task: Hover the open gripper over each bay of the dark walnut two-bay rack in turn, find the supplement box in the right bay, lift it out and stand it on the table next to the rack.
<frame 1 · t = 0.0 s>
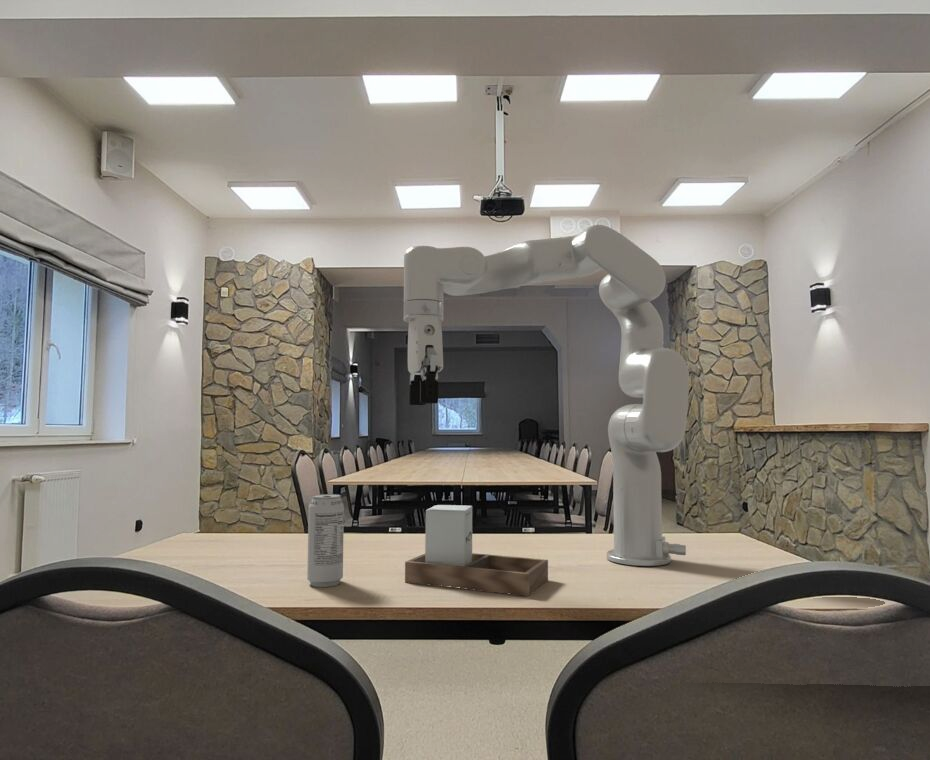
hand: (422, 404, 116), 31 cm above the table, tool pointing down, fingers open, 9 cm apart
energy drink can: (325, 584, 107), on the table
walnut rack: (477, 581, 109), on the table
supplement box: (449, 579, 111), resting in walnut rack
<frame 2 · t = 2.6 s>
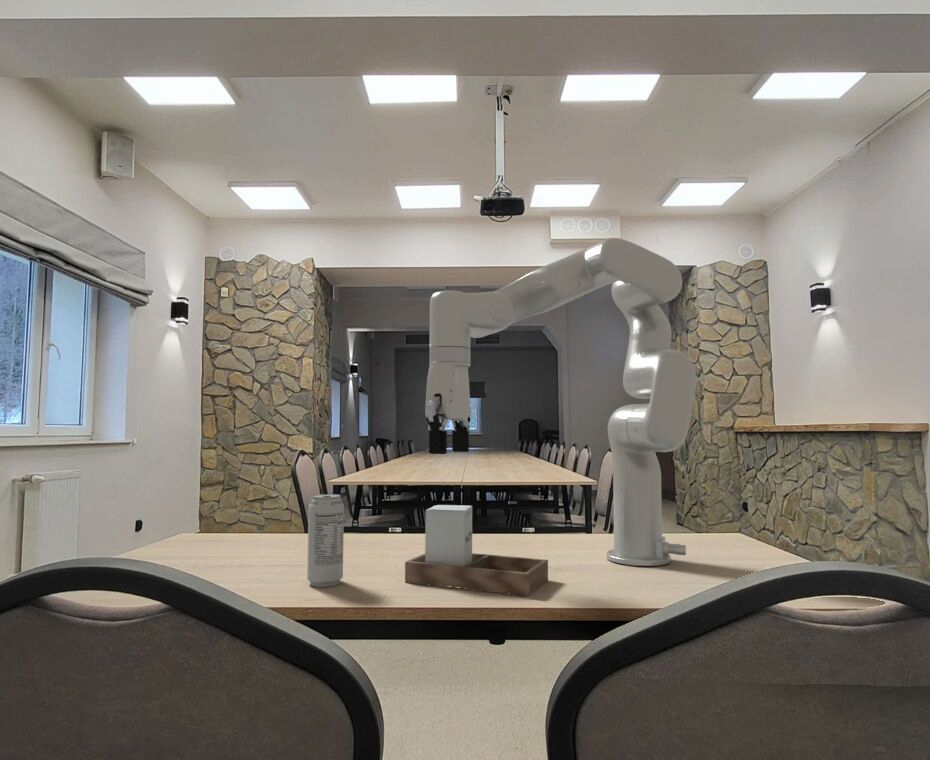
hand: (449, 452, 113), 22 cm above the table, tool pointing down, fingers open, 9 cm apart
nothing on the table moved.
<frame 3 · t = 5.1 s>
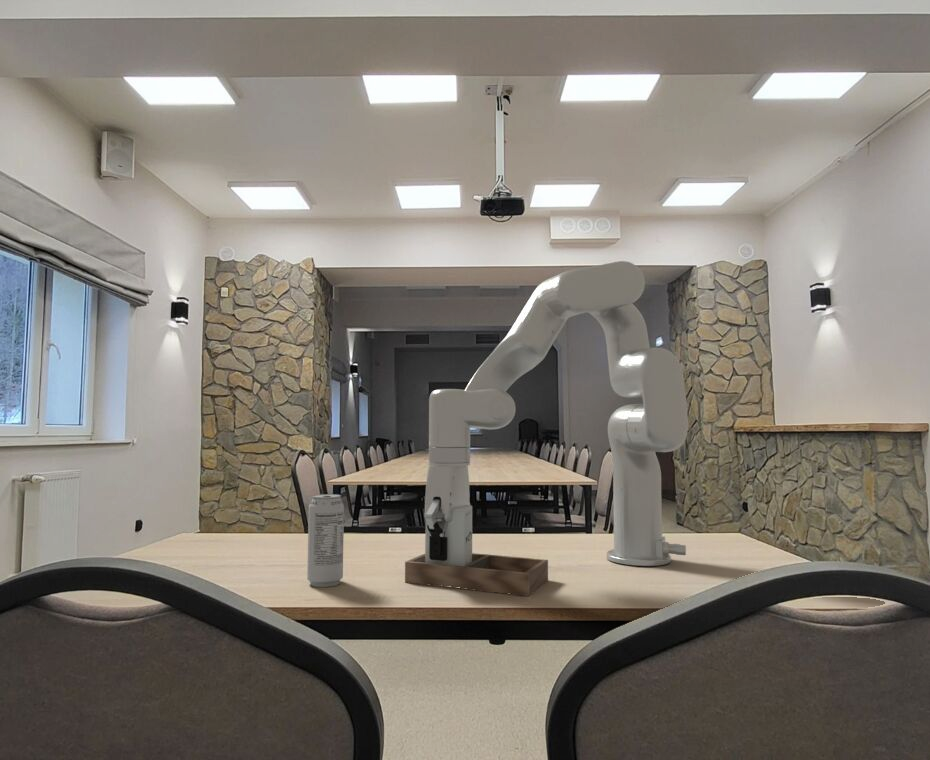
hand: (449, 554, 112), 4 cm above the table, tool pointing down, fingers closed on supplement box, 8 cm apart
supplement box: (449, 579, 111), resting in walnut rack, touching gripper
everything else where it was.
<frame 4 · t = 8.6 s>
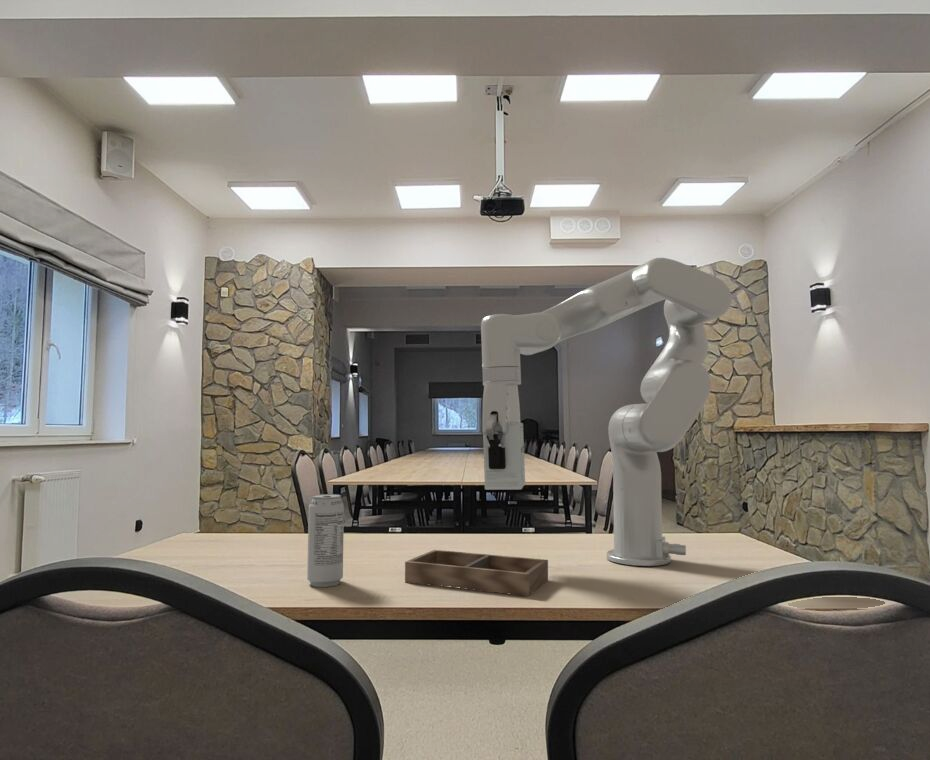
hand: (504, 466, 121), 19 cm above the table, tool pointing down, fingers closed on supplement box, 8 cm apart
supplement box: (505, 488, 121), point 15 cm above the table, touching gripper
everything else where it was.
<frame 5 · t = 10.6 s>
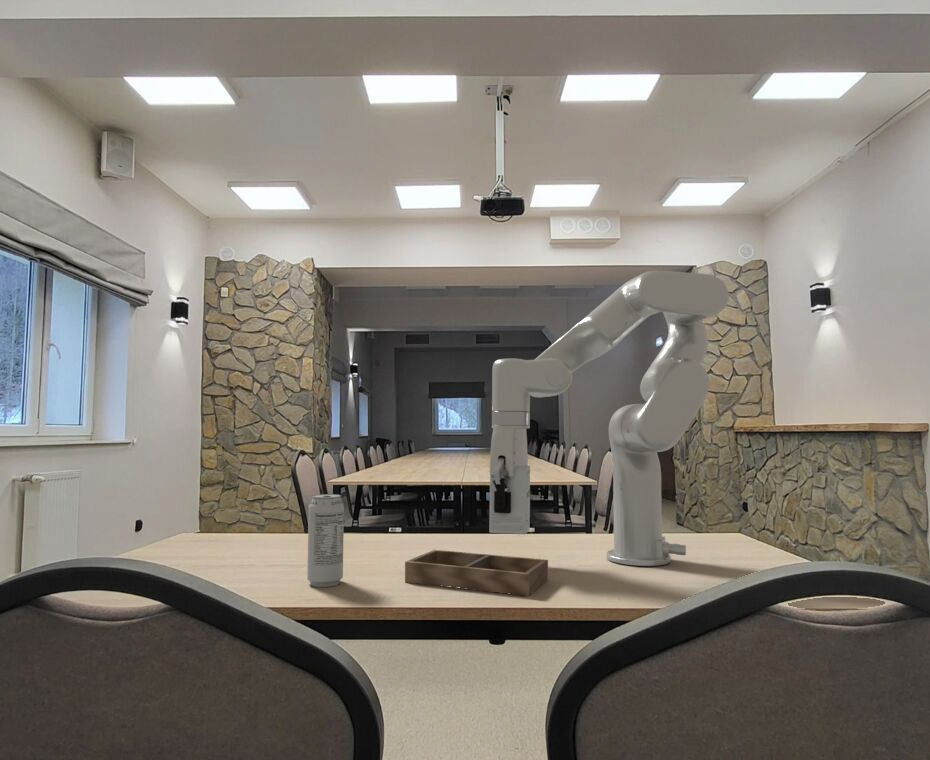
hand: (510, 509, 122), 11 cm above the table, tool pointing down, fingers closed on supplement box, 8 cm apart
supplement box: (510, 532, 122), point 6 cm above the table, touching gripper
everything else where it was.
when the fingers open (5 cm above the table, at t = 12.4 s): supplement box stays where it is, on the table.
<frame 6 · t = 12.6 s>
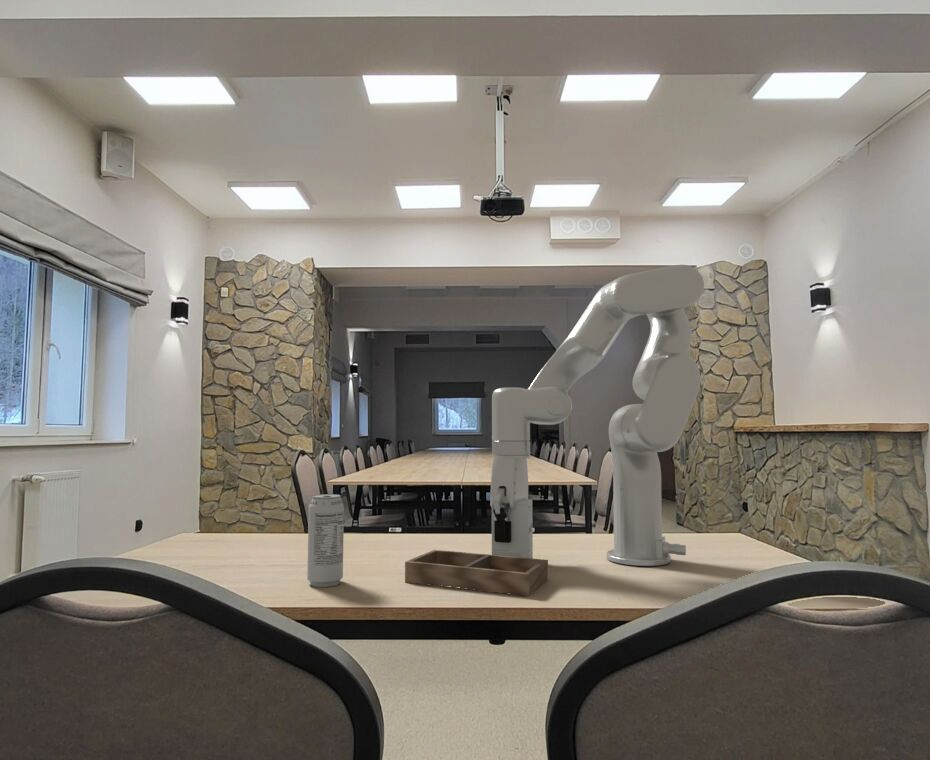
hand: (511, 537, 122), 5 cm above the table, tool pointing down, fingers open, 9 cm apart
supplement box: (512, 566, 121), on the table
everything else where it was.
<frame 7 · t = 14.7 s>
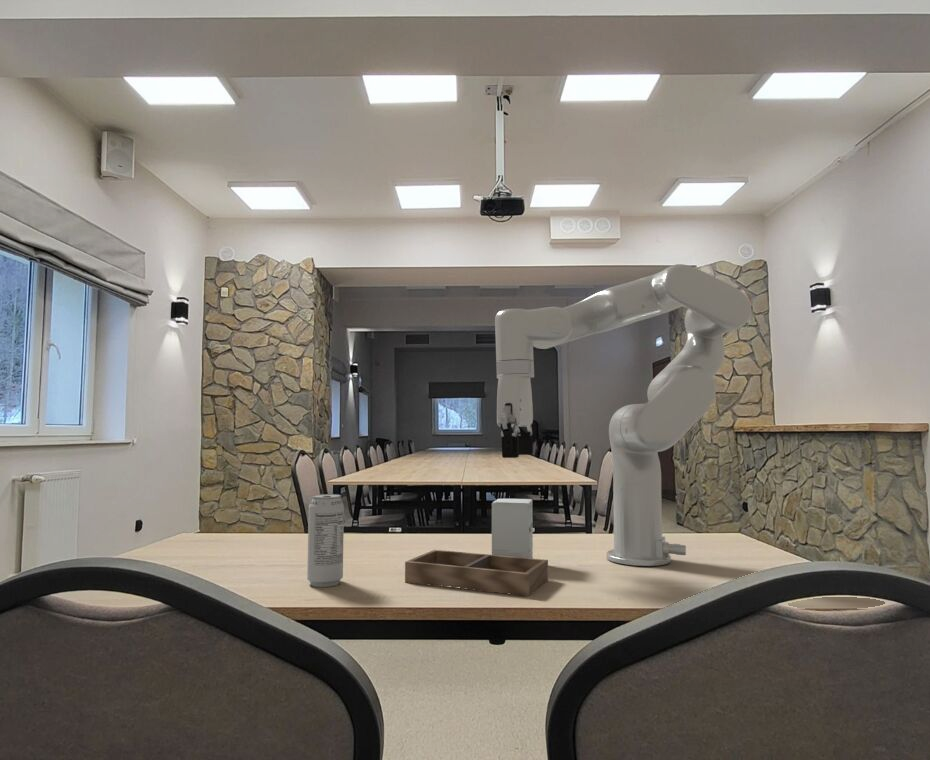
hand: (518, 456, 124), 21 cm above the table, tool pointing down, fingers open, 9 cm apart
nothing on the table moved.
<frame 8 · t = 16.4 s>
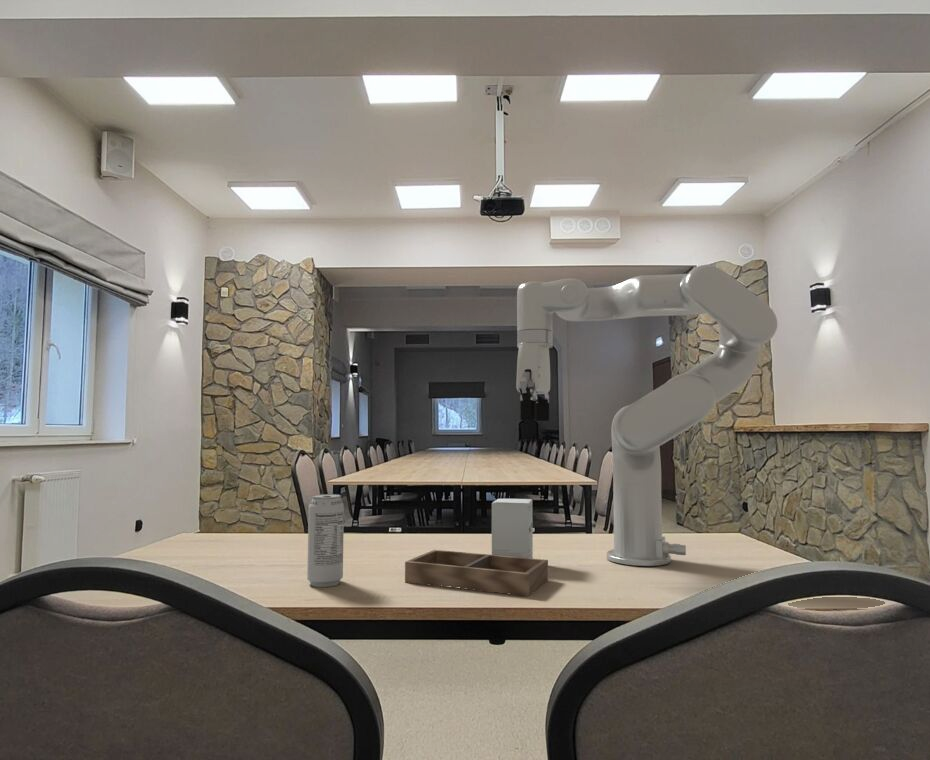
hand: (535, 420, 132), 28 cm above the table, tool pointing down, fingers open, 9 cm apart
nothing on the table moved.
at the end: supplement box inside the target area (0.3 cm from its centre), on the table; supplement box tilted 0°; the gripper is holding nothing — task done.
